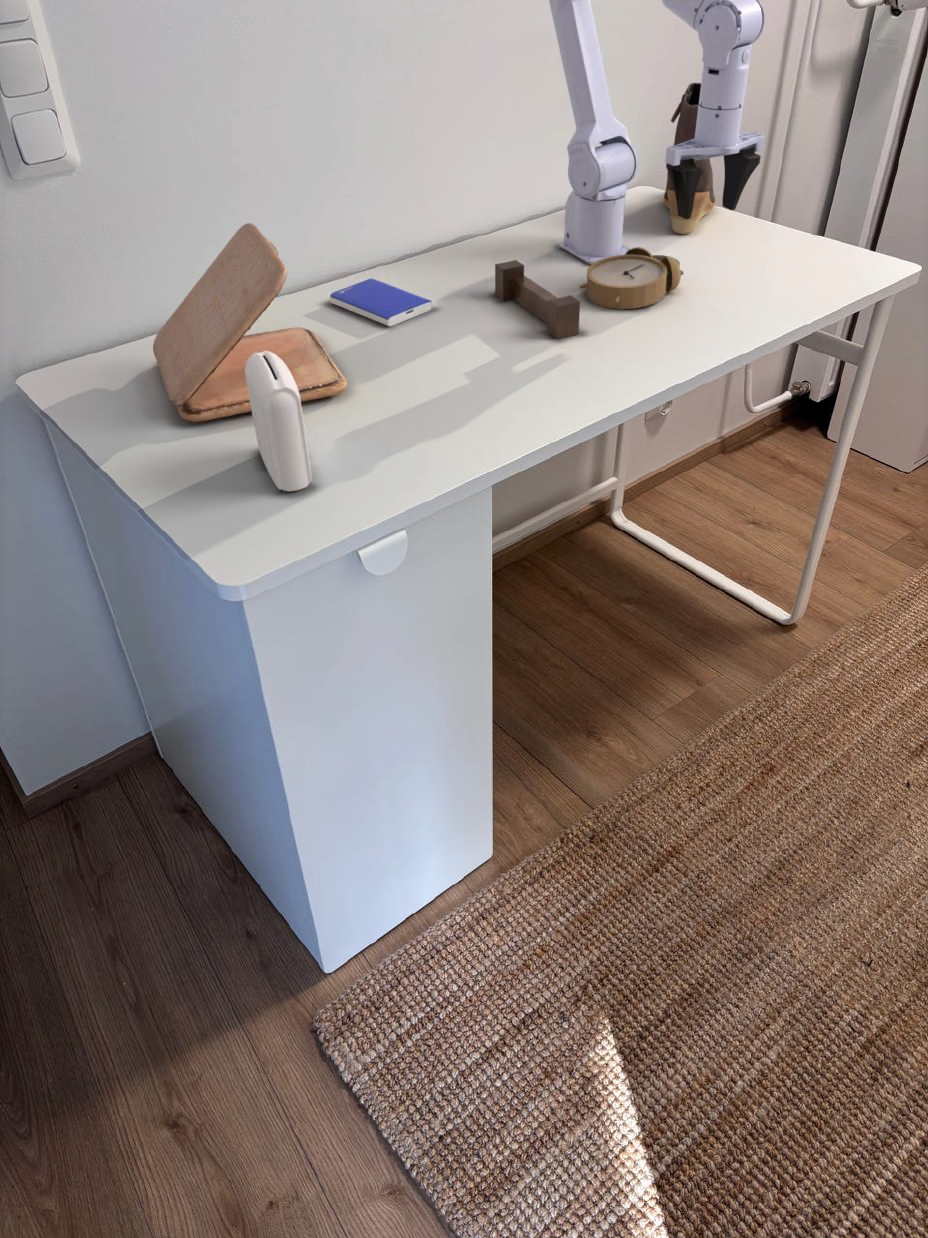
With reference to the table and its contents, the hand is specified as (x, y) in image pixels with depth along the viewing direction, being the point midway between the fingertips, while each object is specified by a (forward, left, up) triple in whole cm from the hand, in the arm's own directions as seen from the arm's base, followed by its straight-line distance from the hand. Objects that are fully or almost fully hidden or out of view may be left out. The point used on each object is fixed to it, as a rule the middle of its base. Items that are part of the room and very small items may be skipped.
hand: (706, 212), depth 136 cm
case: (-2, -67, -10) cm, 68 cm away
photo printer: (+21, -70, -10) cm, 74 cm away
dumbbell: (-2, -25, -10) cm, 27 cm away
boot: (-26, +17, -10) cm, 32 cm away
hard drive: (-15, -44, -10) cm, 47 cm away
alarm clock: (-2, -10, -10) cm, 14 cm away
